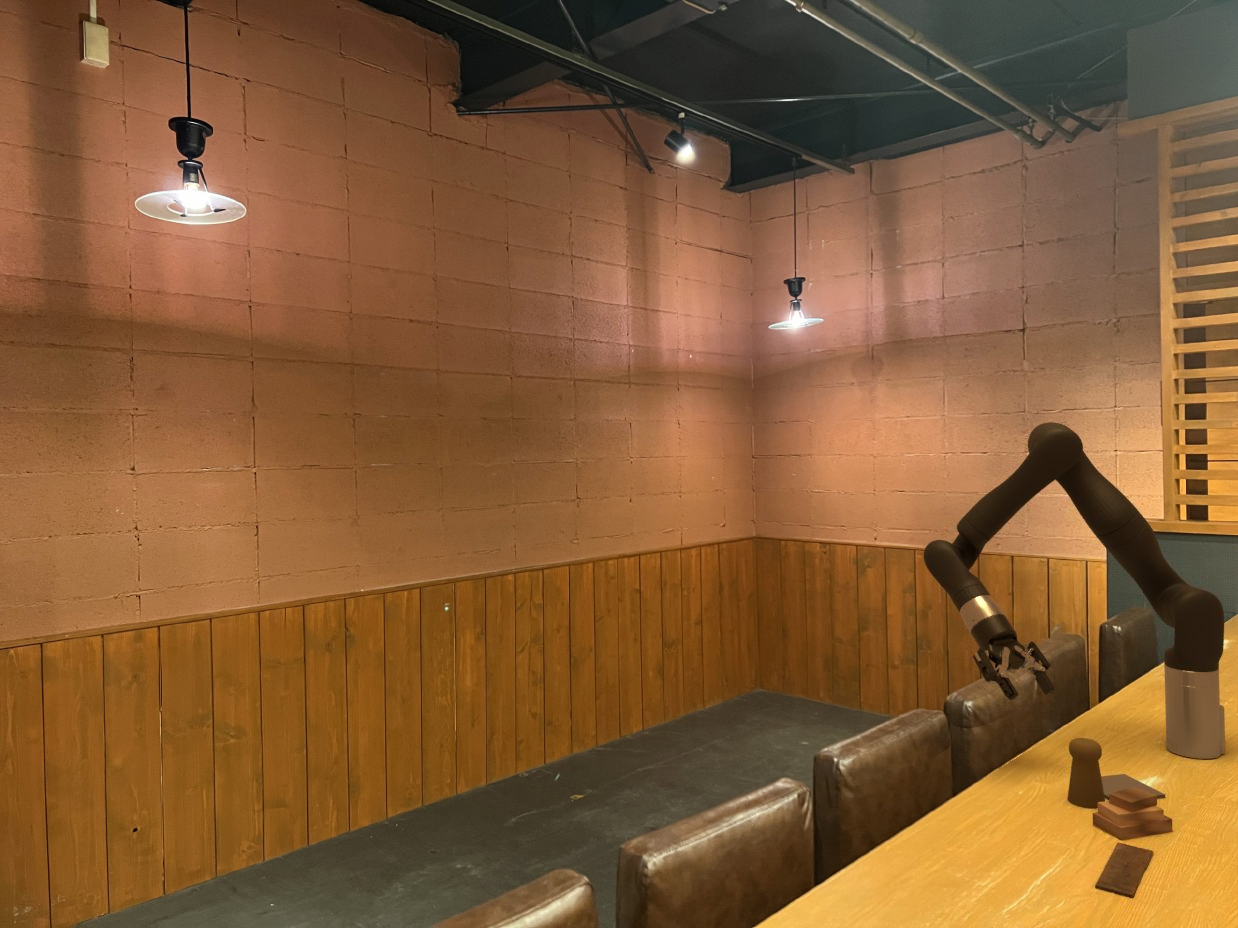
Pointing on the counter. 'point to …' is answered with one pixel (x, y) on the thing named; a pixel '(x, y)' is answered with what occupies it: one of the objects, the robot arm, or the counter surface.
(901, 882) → the counter surface
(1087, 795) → the cork
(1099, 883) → the wooden plank
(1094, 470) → the robot arm
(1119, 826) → the offcut stack
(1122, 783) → the slate coaster
